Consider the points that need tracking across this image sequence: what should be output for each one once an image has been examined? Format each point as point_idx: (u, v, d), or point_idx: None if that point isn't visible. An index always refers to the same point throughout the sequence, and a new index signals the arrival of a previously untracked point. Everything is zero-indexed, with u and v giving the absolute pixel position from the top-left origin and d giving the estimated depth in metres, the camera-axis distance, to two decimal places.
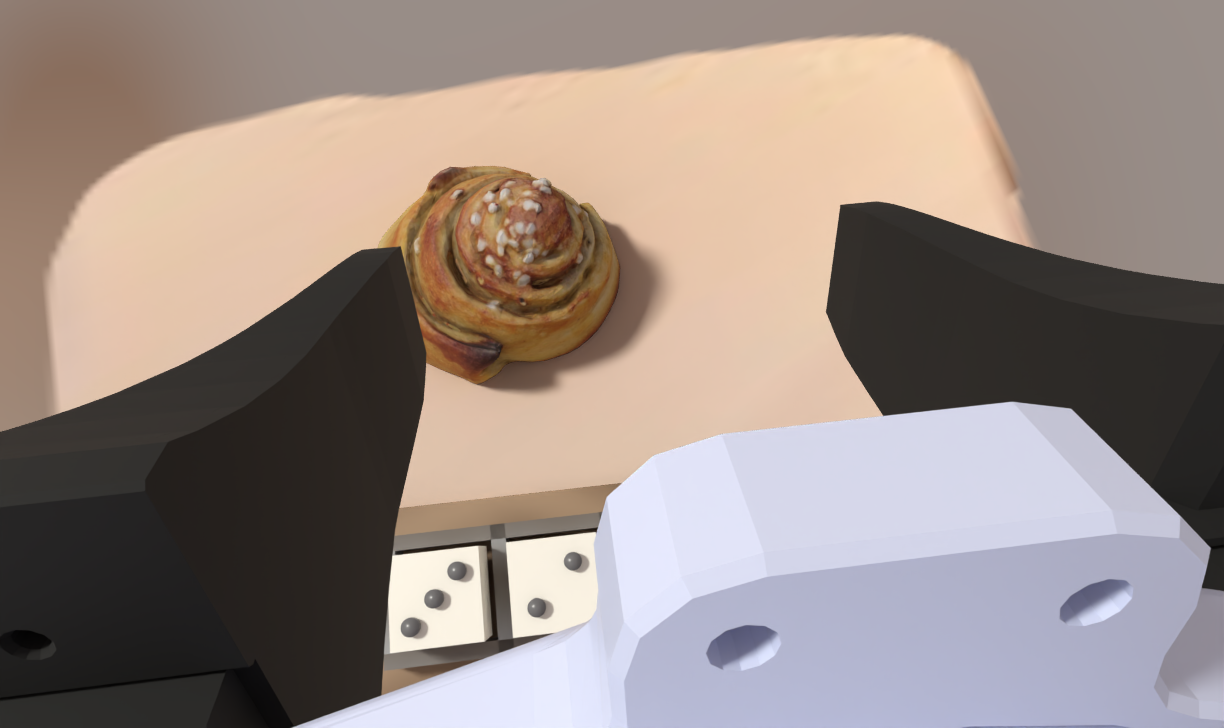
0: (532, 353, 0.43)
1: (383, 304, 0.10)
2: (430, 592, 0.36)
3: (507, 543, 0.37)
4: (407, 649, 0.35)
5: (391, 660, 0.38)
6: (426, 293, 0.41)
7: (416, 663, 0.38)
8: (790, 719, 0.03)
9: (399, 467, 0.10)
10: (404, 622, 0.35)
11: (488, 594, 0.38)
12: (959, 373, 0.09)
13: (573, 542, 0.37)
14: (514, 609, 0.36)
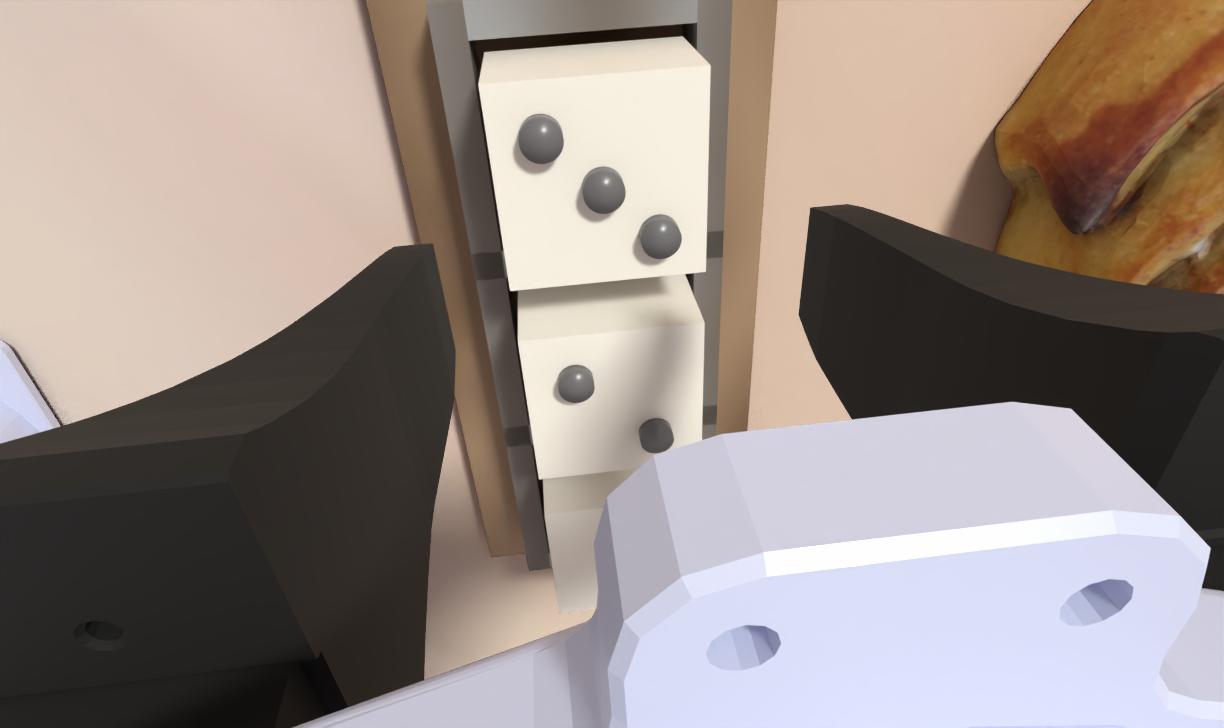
0: (1032, 262, 0.22)
1: (419, 300, 0.10)
2: (619, 187, 0.15)
3: (702, 326, 0.18)
4: (488, 128, 0.15)
5: (450, 22, 0.16)
6: None
7: (447, 83, 0.17)
8: (790, 718, 0.03)
9: (434, 463, 0.10)
10: (553, 127, 0.14)
11: None
12: (920, 377, 0.09)
13: (687, 430, 0.20)
14: (572, 342, 0.18)
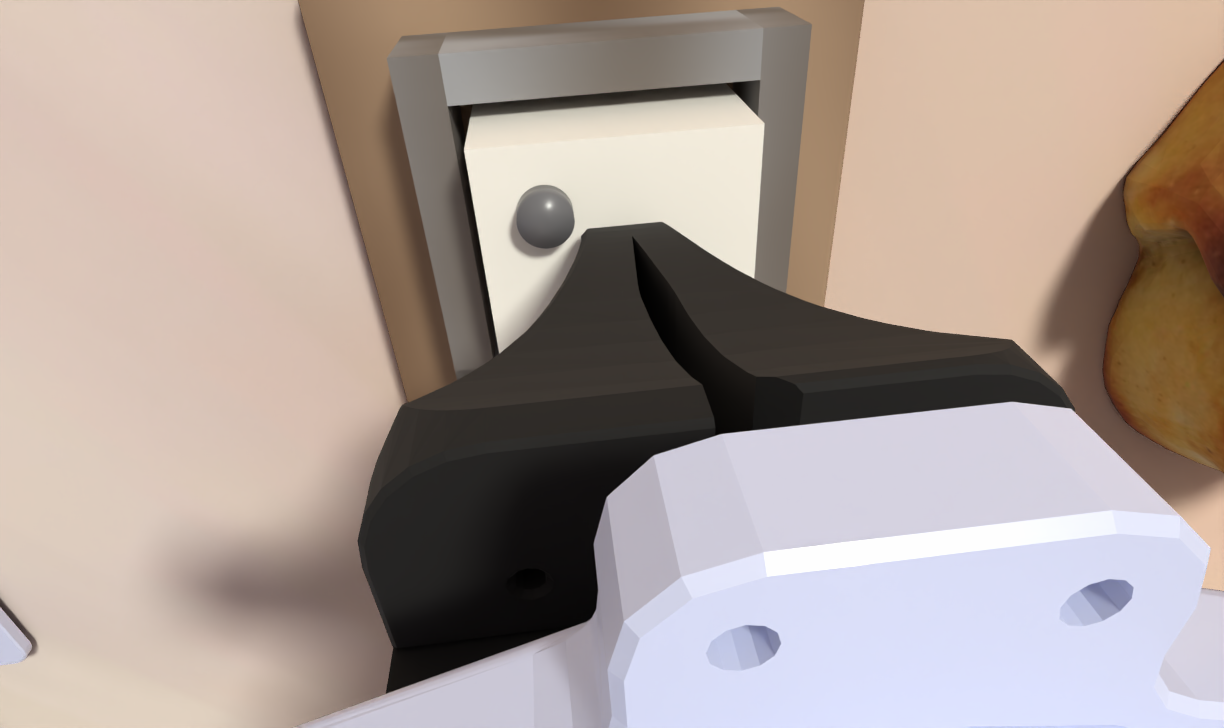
0: (1169, 343, 0.18)
1: None
2: None
3: None
4: (478, 203, 0.11)
5: (421, 82, 0.12)
6: None
7: (419, 162, 0.12)
8: (790, 719, 0.03)
9: None
10: (561, 204, 0.11)
11: None
12: None
13: None
14: None
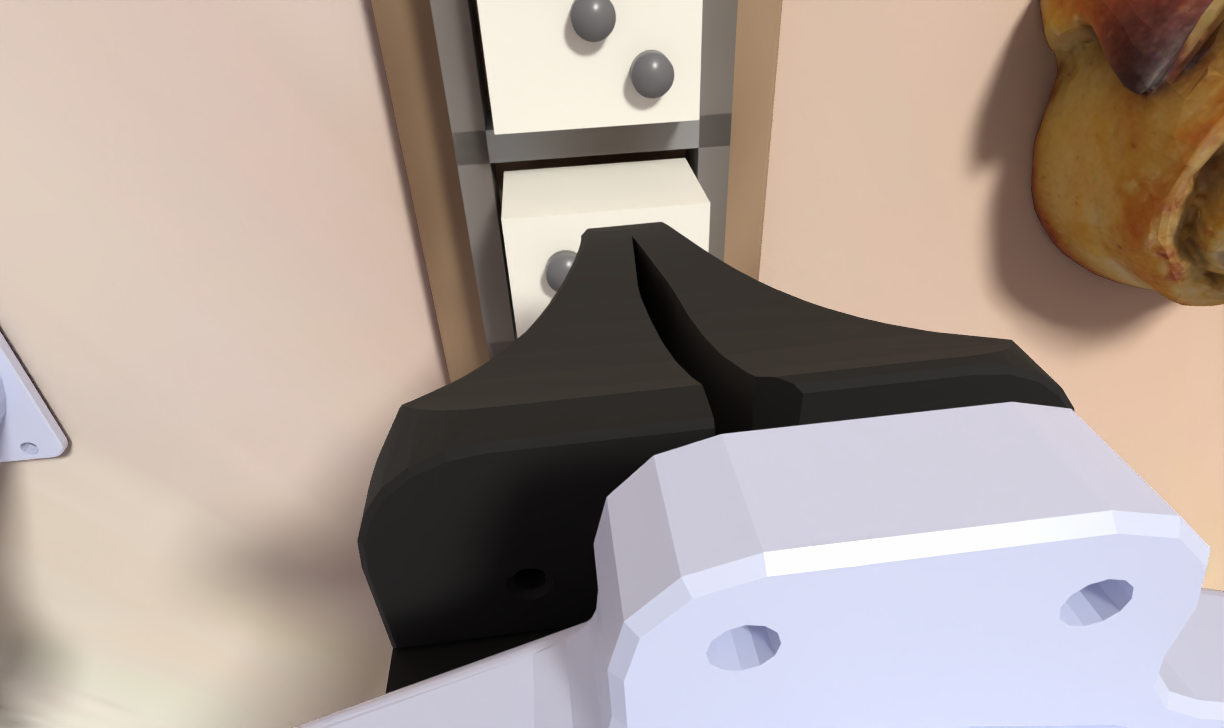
0: (1081, 141, 0.20)
1: None
2: (609, 10, 0.14)
3: (707, 207, 0.16)
4: None
5: None
6: None
7: None
8: (790, 718, 0.03)
9: None
10: None
11: None
12: None
13: None
14: (562, 222, 0.16)
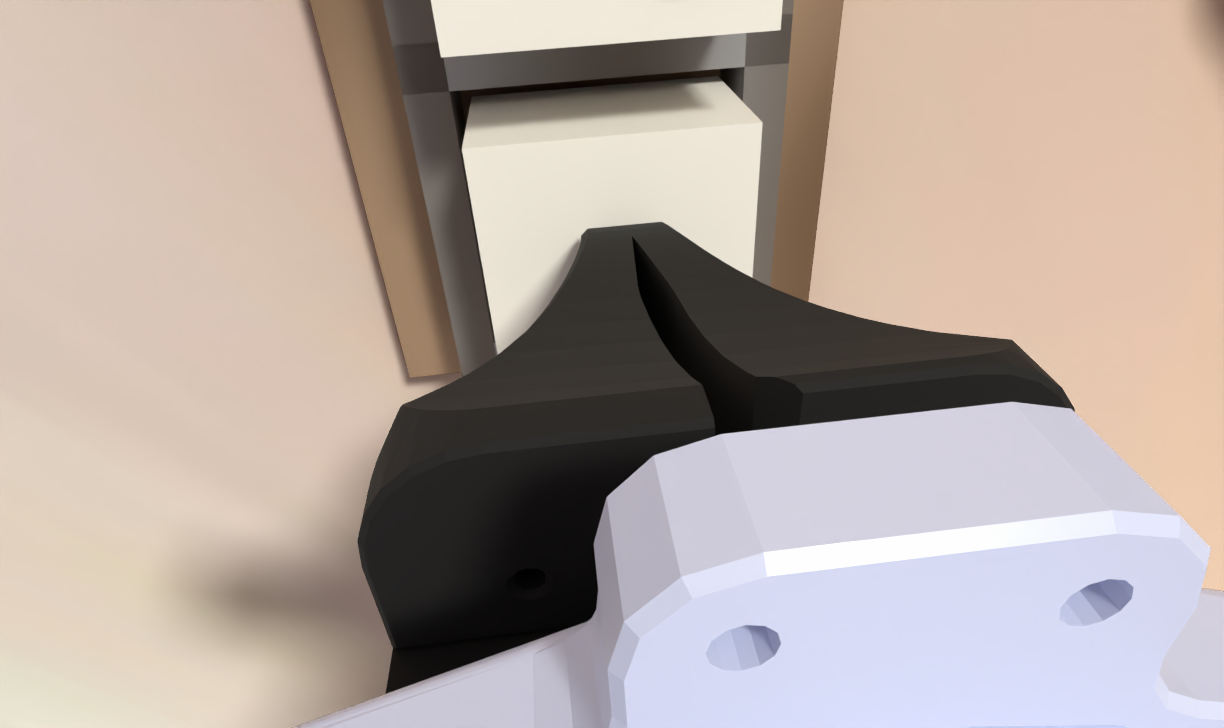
0: None
1: None
2: None
3: None
4: None
5: None
6: None
7: None
8: (790, 718, 0.03)
9: None
10: None
11: None
12: None
13: None
14: None
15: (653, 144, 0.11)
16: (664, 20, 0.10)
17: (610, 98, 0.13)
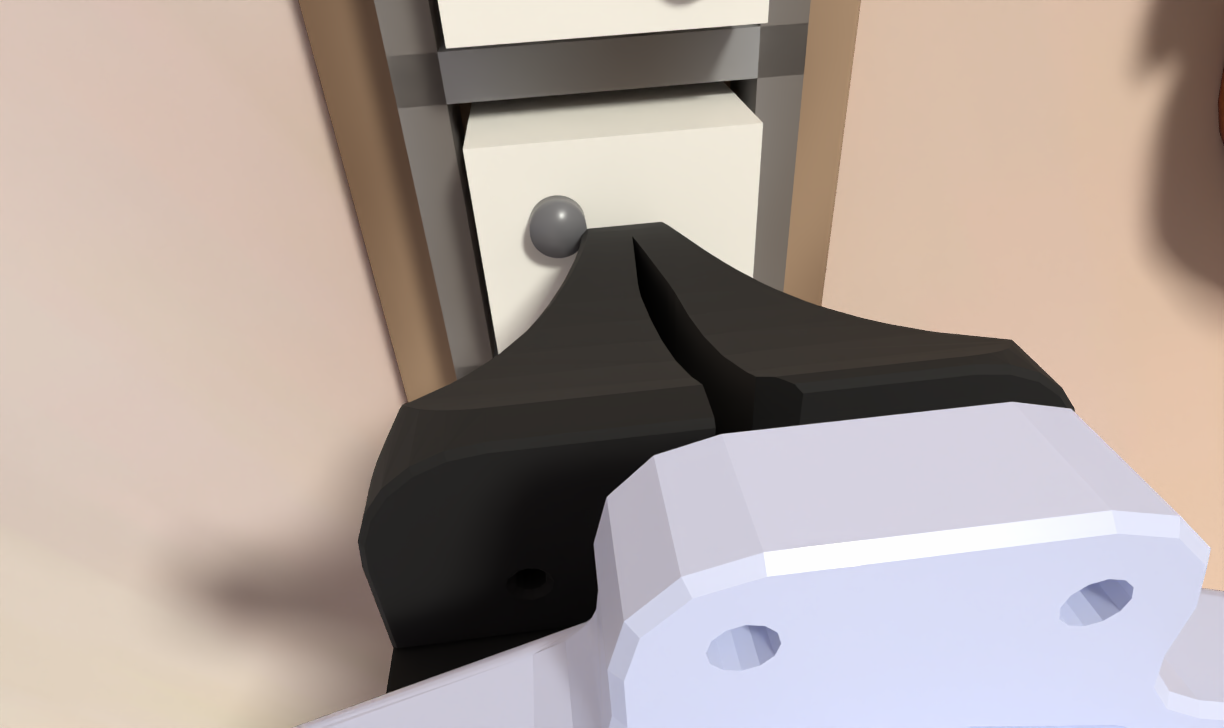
0: None
1: None
2: None
3: (759, 129, 0.11)
4: None
5: None
6: None
7: None
8: (790, 718, 0.03)
9: None
10: None
11: None
12: None
13: None
14: (552, 153, 0.11)
15: None
16: None
17: None
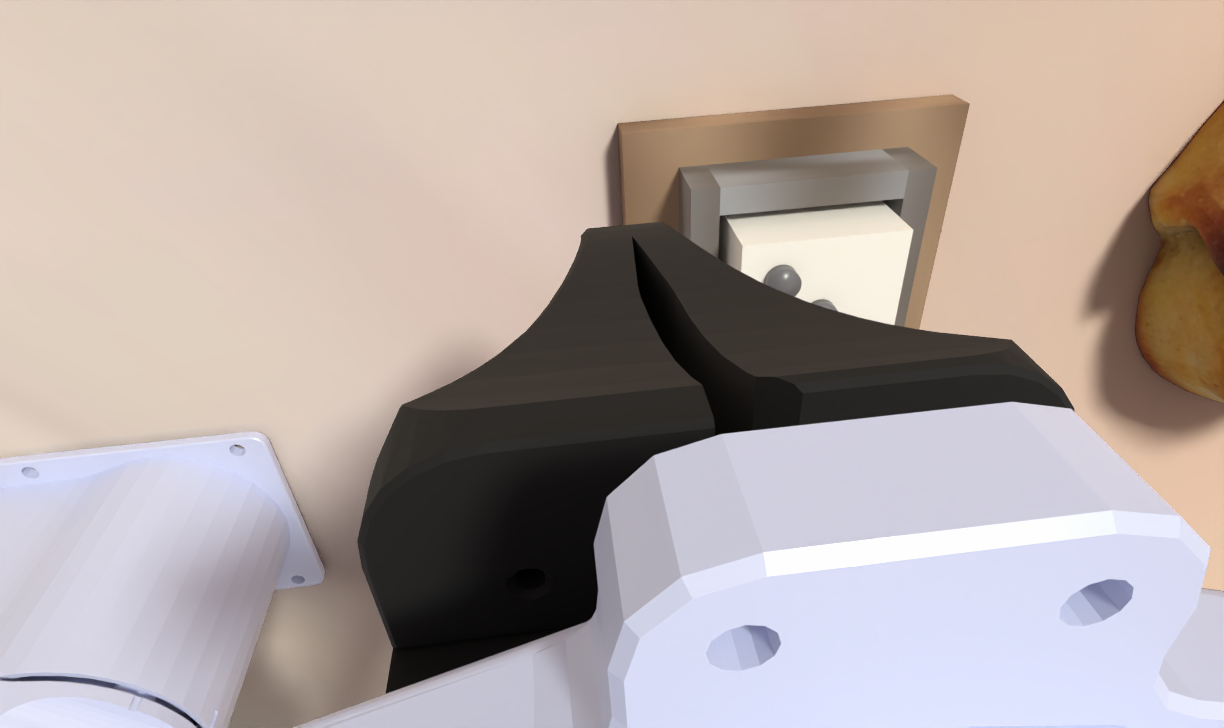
0: (1184, 307, 0.25)
1: None
2: None
3: None
4: None
5: (707, 203, 0.20)
6: None
7: None
8: (790, 718, 0.03)
9: None
10: (795, 276, 0.19)
11: None
12: None
13: None
14: None
15: None
16: None
17: None
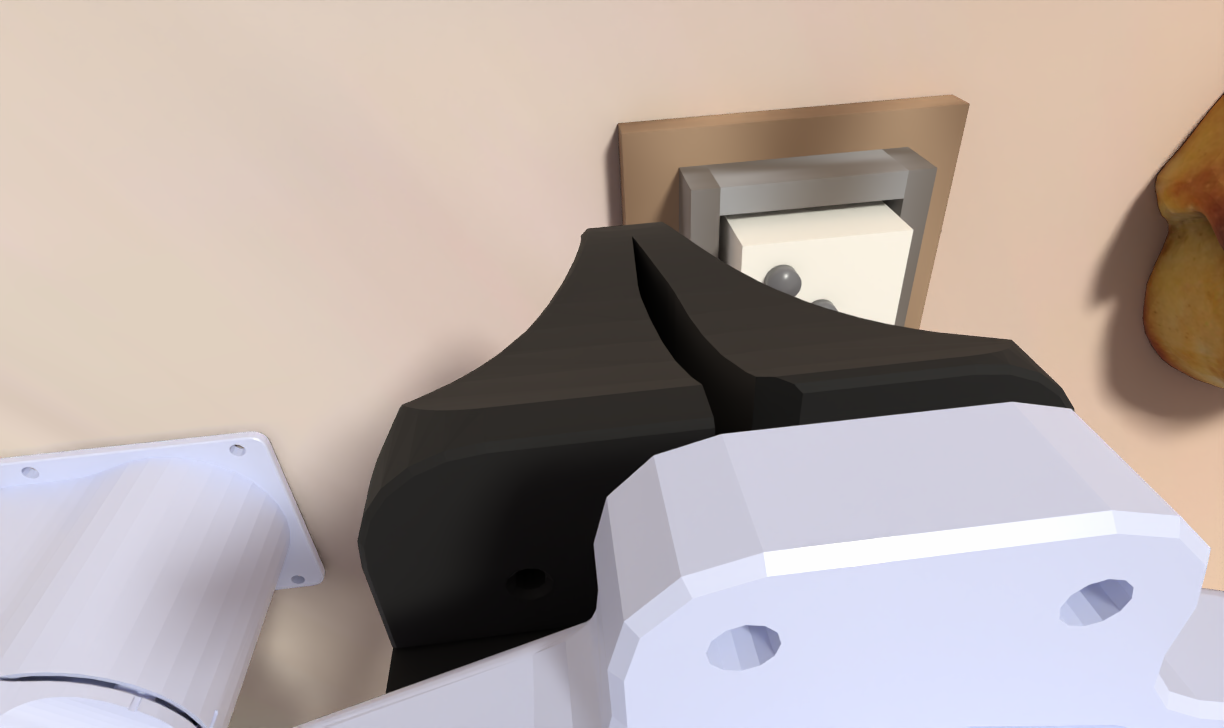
0: (1192, 294, 0.24)
1: None
2: None
3: None
4: None
5: (707, 203, 0.20)
6: None
7: None
8: (790, 718, 0.03)
9: None
10: (795, 276, 0.19)
11: None
12: None
13: None
14: None
15: None
16: None
17: None
